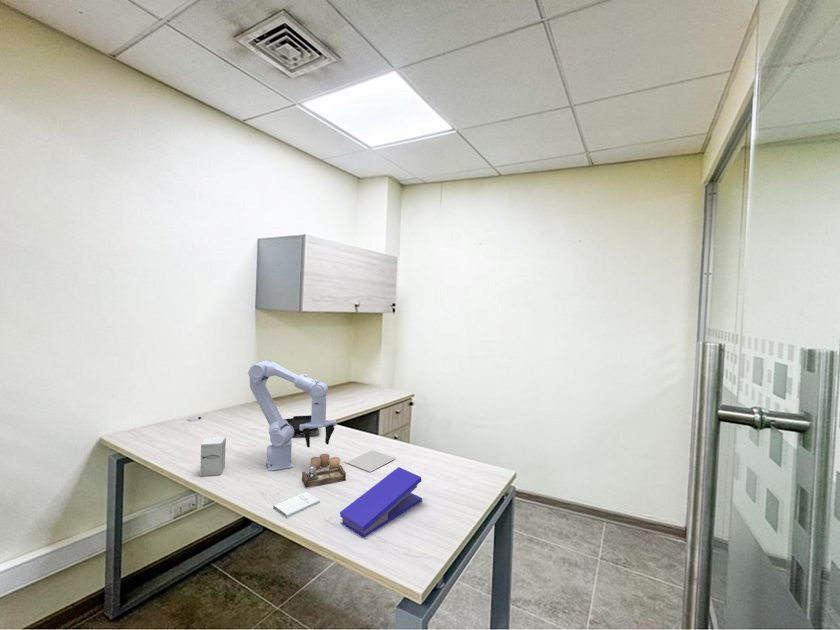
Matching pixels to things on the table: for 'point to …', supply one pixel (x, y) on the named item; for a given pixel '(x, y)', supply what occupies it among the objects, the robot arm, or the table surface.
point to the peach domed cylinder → (334, 463)
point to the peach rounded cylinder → (324, 460)
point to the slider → (312, 473)
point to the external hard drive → (296, 504)
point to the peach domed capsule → (316, 462)
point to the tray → (297, 421)
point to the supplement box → (212, 456)
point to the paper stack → (371, 460)
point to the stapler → (382, 502)
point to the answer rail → (325, 477)
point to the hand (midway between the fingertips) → (317, 445)
